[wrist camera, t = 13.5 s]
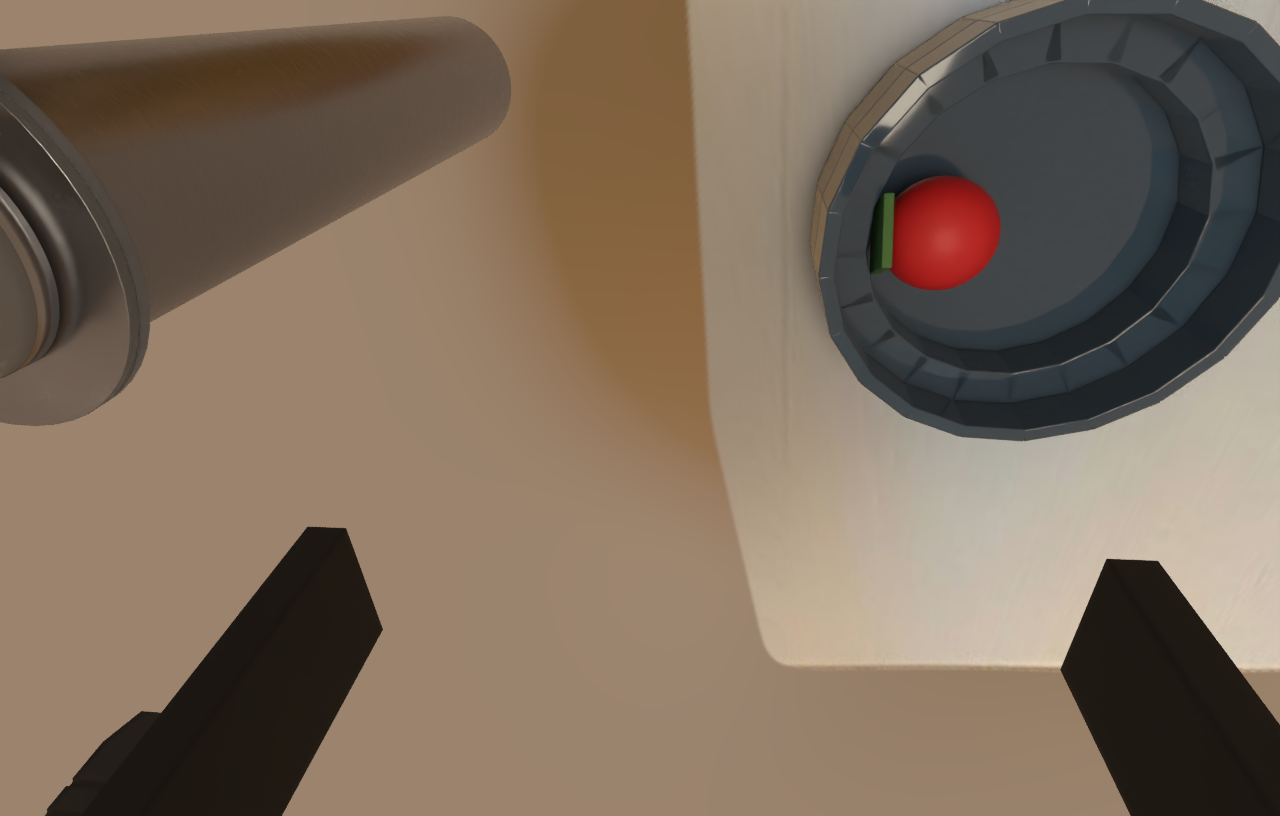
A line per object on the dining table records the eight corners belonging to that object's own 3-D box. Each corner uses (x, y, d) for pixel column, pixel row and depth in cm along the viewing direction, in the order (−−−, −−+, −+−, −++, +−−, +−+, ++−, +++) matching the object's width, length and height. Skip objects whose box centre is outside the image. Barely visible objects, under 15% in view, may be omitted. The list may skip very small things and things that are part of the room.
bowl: (753, 316, 33) (754, 364, 28) (932, -77, 24) (971, -92, 20) (1060, 426, 34) (1105, 489, 29) (1340, 83, 25) (1461, 101, 21)
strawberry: (972, 242, 30) (863, 245, 30) (1001, 150, 26) (878, 155, 27) (993, 312, 27) (873, 313, 28) (1029, 219, 23) (891, 223, 24)
